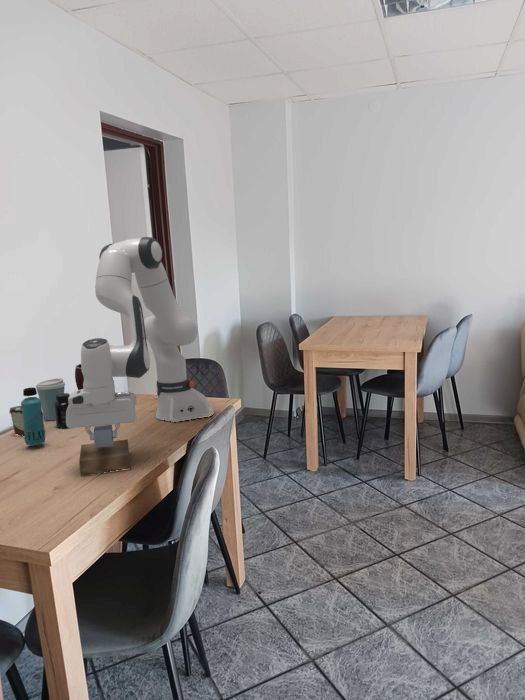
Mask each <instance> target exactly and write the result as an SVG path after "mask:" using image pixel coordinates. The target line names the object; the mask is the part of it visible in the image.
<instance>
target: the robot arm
mask: <svg viewBox="0 0 525 700" xmlns="http://www.w3.org/2000/svg"><path fill="white" fill-rule="evenodd" d="M162 260H163V249H162V246H161V244H160V242H159V241H158V240H156V239H155V238H154V237H152V236H151V237H150V236H142V237H140V238H139V237H138V238H137V237H135V238H128V239H125V240H122V241H117V242H115V243H109V244H107V245H105V246H104V247H102V248H101V250H100V253H99V261H98V265H97V268H96V269H97V271H96V276H95V285H94V289H95V297H96V299H97V300H98V301H99V303H100V304H102V306H104V307H105V308H107V309H109V310H111V311H114V312H117V313H119V314H122V315H124V316H126V318H128V321H129V330H130V340H131V343H130V344H129V345H110V344H109V343H110V342H109V341H108V339H106V338H101V337H100V338H99V337H97V338H96V337H95V338H92V339H91V338H90V339H88V340H85V341H84V342H83V343H82V344H81V349H80V350H81V351H80V364H81V369H82V374H83V376H84V382H83V389H81V390H77V391H73V392H71V393H70V396H69V398H68V403H69V405H68V407H67V410H66V426H67V427H68V428H69V429H77V428H84V431H85V432H86V433H87V435H88V436H89V441H94V432H92V431H91V427H95V426H102V425H114V427H115V429H114V430H112V438H113V439H117V438H118V431H119V430H120V428H121V424H130V423H135V422H136V420H137V418H138V417H137V410H136V409H137V408H136V405H137V396H136V394H135V393H134V392H131V391H126V392H124V391H123V392H122V391H121V392H119V391H118V392H116V390H115V389H116V387H115V380H114V378H120V377H121V378H122V377H123V378H124V377H127V378H134V379H135V378H137V379H140V378H142V377H143V376H144V375H145V374H147V372H148V371H150V368H151V367H150V366H151V358H150V354H149V349H148V343H149V345H150V348H151V350H152V354H153V356H154V360H155V366H156V376H157V377H156V378H157V380H156V384H155V385H156V395H157V408H156V412H155V413H156V414H155V418H156V419H158V420H160V421H164V420H165V422H170V421H171V422H170V423H174V422H176V423H180V422H179V421H183V422H185V421H184V420H189V421H191V420H190V419H195V418H199V417H203V416H208V415H212V414H213V413H214V414H215V410H214V411H213V409H214V408H213V407H212V406H211V407H212V408H213V409H212V408H211V407H209V406H210V405H209V402H208V400H207V397H206V396H205V395H204V394H203V393H201V392H200V391H198V390H197V389H195V388H194V387H195V382H194V381H193V380H192V379H191V378H187V377H188V376H187V375H188V374H187V363H186V358H185V356H184V355H183V354H182V353H181V352H180V350H179V348H178V347H182V346H187V345H191V344H193V343H194V342H195V340H196V339H197V337H198V326H197V324H196V323H195V321H193V320H192V319H191V318H190V317H189V316H188V315H187V314H186V312H184V310H183V309H182V307H181V305H180V304H179V302H178V301H177V300H176V297H175V295H174V292H173V289H172V286H171V284H170V280H169V278H168V275H167V271H166V269H165V267H164V264H163V262H162ZM133 273H134V277H135V281H136V283H137V287H138V290H139V293H140V295H141V296H140V297H141V298H142V302H143V304H144V306H145V307H146V309H147V310H148V311H149V312H151V313H152V314H153V315H150V316H147V317H144V311H143V307H142V303H141V300H140V298H139V297H138V296H137V295H134V292H133V289H132V282H133V281H132V278H133V277H132V274H133ZM147 342H148V343H147ZM209 412H213V413H209ZM68 428H67V429H68Z"/></svg>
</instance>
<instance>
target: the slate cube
mask: <svg viewBox="0 0 525 700" xmlns="http://www.w3.org/2000/svg"><path fill="white" fill-rule="evenodd" d="M112 431H113V424H110V425H100V426H94V428H93V433H94V440H93V441H94V442H93V443H95V448H96V447H106V446H113V441H114V438H112Z"/></svg>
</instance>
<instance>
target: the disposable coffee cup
mask: <svg viewBox="0 0 525 700" xmlns="http://www.w3.org/2000/svg"><path fill="white" fill-rule="evenodd" d="M65 383H66V382H65V381H64V379H63V378H61V377H60V378H51V379H50V378H49V379H47V380H43V381H40V382H38V383H37V384H36V385H35V388H36V392H37V395H38V398H39V399H40V400H41V407H42V411H43V413H42V415H43V418H45V420H46V419H47V420H46V421H56V419H55V410H54V404H55V403H56V402H57V401H56V395H58V394H62V393H65V385H66V384H65Z"/></svg>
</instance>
